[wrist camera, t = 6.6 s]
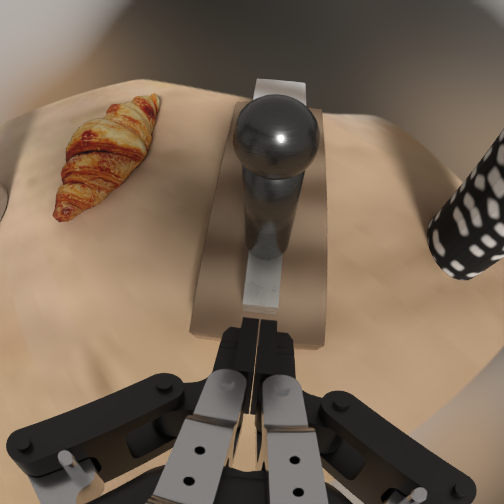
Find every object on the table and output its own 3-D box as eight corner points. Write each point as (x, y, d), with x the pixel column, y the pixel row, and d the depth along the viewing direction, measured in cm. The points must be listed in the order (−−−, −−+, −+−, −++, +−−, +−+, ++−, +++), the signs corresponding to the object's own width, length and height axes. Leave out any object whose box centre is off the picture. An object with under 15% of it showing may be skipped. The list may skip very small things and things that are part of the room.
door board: (316, 350, 24) (340, 335, 17) (196, 337, 24) (174, 318, 18) (318, 127, 35) (327, 79, 28) (237, 120, 35) (235, 70, 28)
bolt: (286, 315, 22) (334, 209, 9) (232, 309, 22) (204, 196, 9) (294, 183, 27) (318, 41, 14) (250, 179, 27) (249, 35, 14)
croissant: (147, 121, 41) (116, 84, 35) (195, 103, 35) (161, 57, 30) (66, 238, 32) (20, 199, 26) (102, 240, 27) (42, 189, 21)
